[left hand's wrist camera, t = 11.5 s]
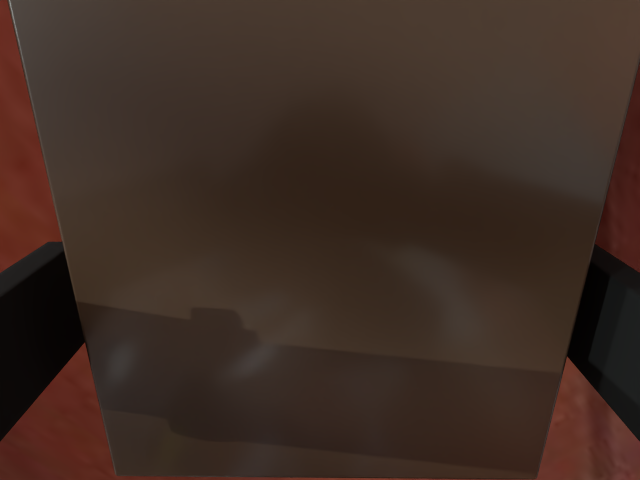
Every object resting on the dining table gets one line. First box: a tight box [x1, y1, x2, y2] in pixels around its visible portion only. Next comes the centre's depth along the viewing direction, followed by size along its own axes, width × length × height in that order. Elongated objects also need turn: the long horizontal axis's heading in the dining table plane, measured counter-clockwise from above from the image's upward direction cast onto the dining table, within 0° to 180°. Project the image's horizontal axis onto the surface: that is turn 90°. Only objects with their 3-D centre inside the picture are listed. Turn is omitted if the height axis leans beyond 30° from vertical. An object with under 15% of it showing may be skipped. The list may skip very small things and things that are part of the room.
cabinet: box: [7, 0, 640, 479], centre depth 13 cm, size 17×11×10 cm, turn 0°
